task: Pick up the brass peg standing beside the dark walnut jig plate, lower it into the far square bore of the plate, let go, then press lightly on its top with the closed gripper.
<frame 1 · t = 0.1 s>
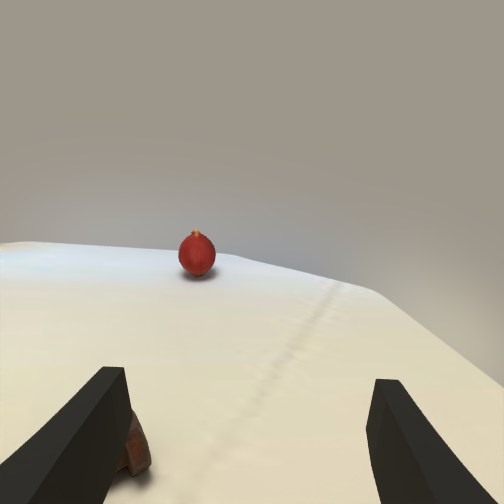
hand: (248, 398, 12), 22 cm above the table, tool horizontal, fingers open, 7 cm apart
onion: (198, 276, 66), on the table
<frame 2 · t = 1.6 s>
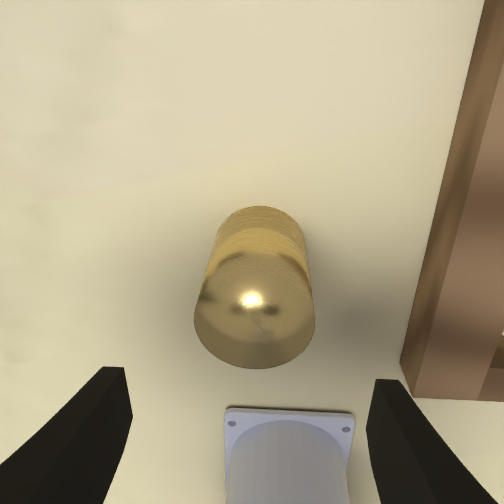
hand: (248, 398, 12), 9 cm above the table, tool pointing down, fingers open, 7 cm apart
brass peg: (259, 247, 20), on the table
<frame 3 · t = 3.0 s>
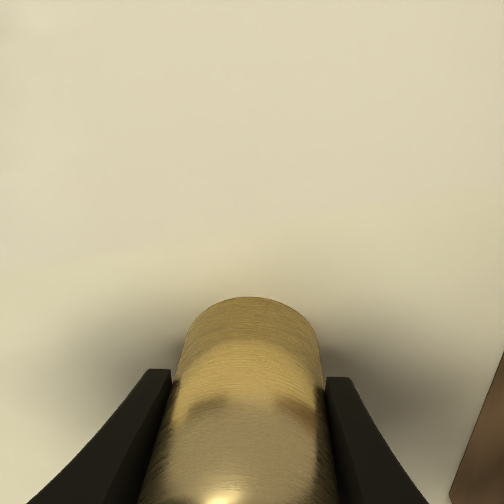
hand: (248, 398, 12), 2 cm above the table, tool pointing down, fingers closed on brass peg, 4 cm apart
brass peg: (251, 352, 14), on the table, touching gripper
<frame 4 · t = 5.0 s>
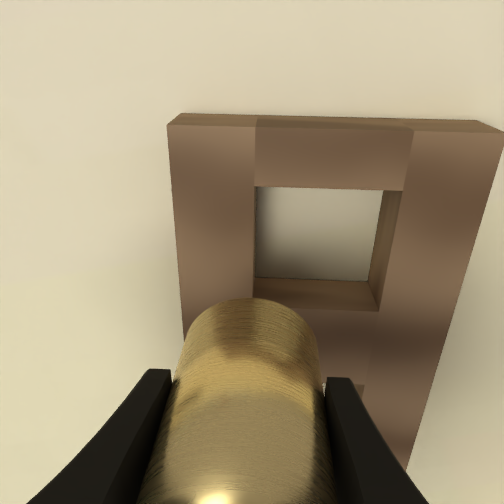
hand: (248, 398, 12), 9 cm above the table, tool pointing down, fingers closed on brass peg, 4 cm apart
walnut jig: (307, 315, 21), on the table
brass peg: (250, 352, 14), point 7 cm above the table, touching gripper
when the fingers open (3 cm above the table, at t = 7.0 s): brass peg drops 1 cm, resting in walnut jig.
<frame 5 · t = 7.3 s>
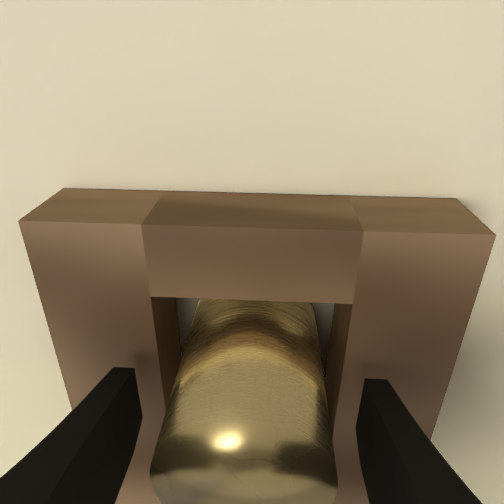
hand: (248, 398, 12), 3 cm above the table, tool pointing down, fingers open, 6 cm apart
walnut jig: (252, 419, 17), on the table
brass peg: (254, 324, 15), resting in walnut jig
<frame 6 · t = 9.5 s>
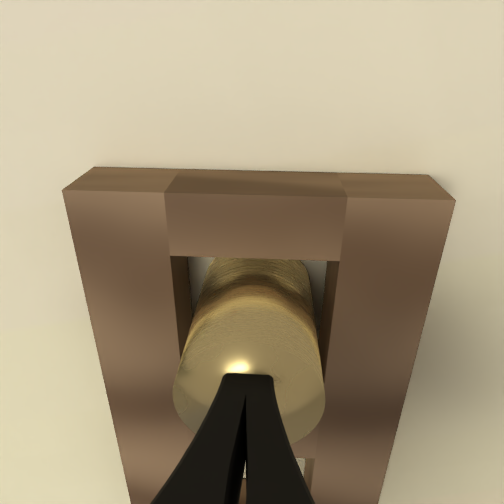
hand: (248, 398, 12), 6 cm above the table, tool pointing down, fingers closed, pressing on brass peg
walnut jig: (254, 377, 19), on the table
brass peg: (257, 287, 17), resting in walnut jig, touching gripper
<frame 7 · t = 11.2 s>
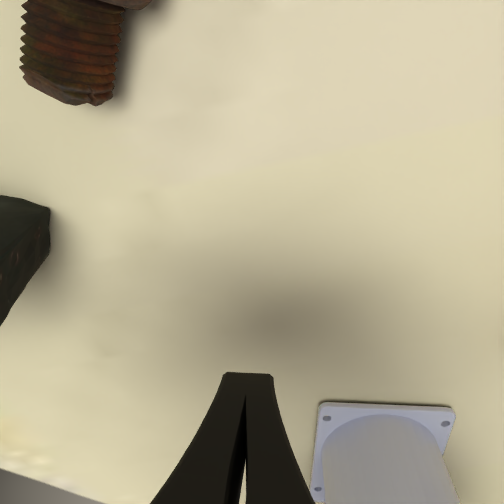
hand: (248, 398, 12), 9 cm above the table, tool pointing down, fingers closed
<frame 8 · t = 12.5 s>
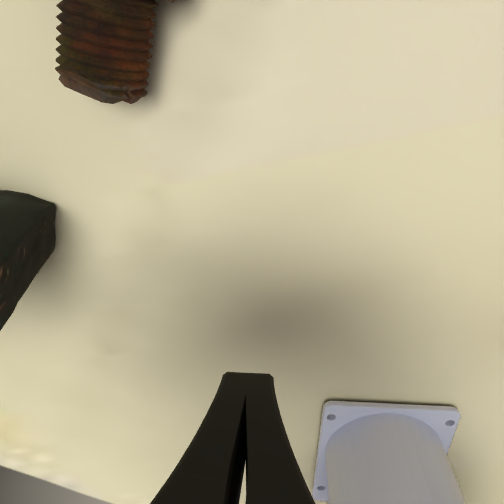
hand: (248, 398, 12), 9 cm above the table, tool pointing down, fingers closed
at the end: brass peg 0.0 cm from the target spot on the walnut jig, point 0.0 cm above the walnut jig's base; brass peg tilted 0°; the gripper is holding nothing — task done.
